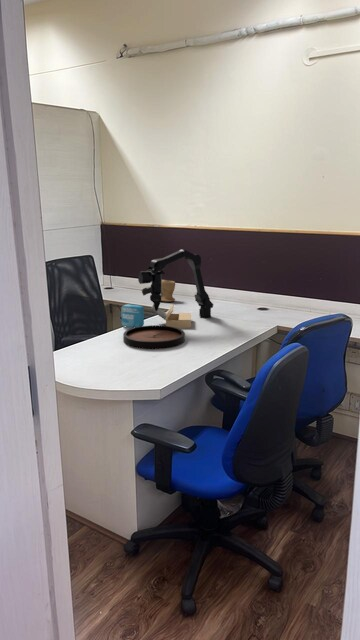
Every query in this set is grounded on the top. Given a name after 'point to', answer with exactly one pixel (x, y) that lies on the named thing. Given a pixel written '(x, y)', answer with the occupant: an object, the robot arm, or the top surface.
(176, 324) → the carton
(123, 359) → the top surface
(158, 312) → the carton flap
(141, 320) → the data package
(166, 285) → the tan suede boot shape
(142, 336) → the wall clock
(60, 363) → the top surface
